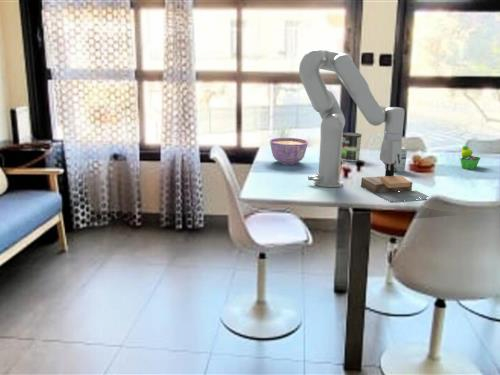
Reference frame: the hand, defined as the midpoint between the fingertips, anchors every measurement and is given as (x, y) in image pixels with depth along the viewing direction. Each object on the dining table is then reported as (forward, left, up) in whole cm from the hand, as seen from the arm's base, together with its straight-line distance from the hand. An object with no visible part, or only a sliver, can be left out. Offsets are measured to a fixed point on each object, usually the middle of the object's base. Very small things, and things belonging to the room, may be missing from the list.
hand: (389, 178), depth 226 cm
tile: (0, -5, -1) cm, 5 cm away
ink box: (+23, +31, -5) cm, 39 cm away
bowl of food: (-25, +57, -5) cm, 63 cm away
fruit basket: (+66, +30, -5) cm, 73 cm away
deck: (0, +1, -5) cm, 5 cm away
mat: (+1, -11, -5) cm, 12 cm away
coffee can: (+12, +59, -5) cm, 61 cm away
